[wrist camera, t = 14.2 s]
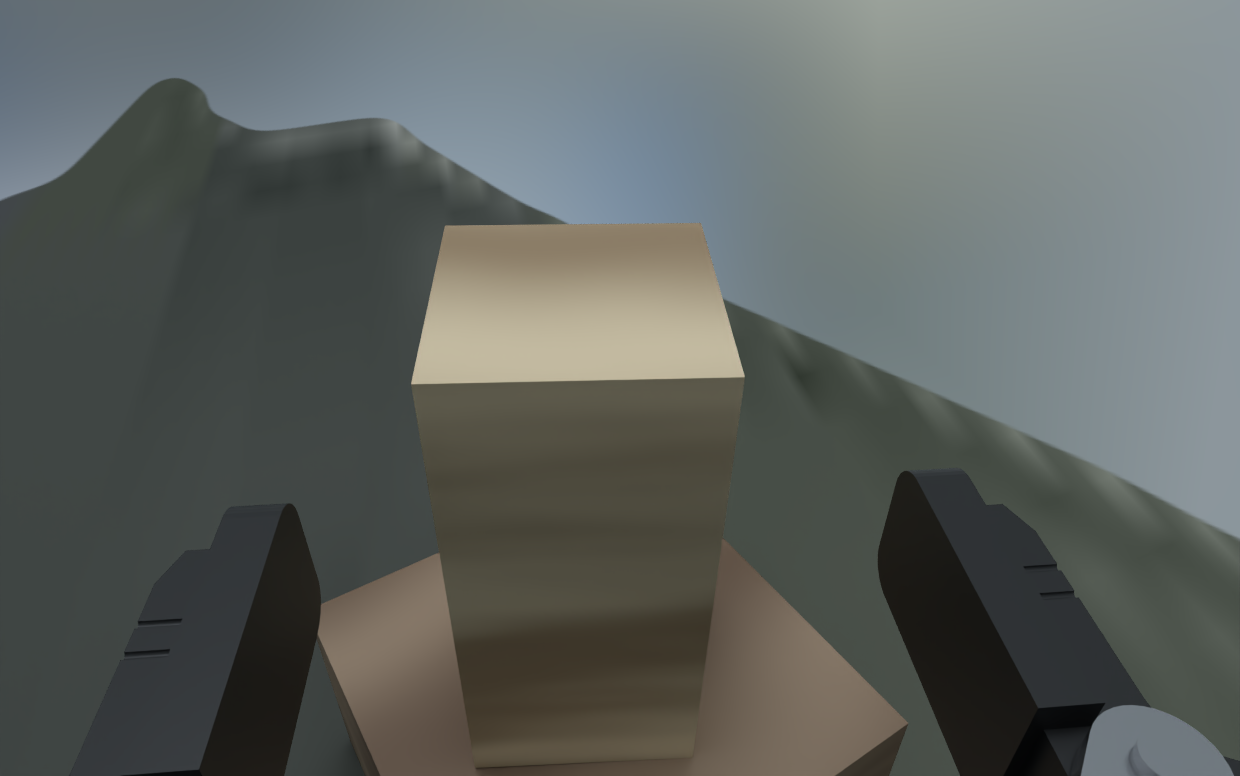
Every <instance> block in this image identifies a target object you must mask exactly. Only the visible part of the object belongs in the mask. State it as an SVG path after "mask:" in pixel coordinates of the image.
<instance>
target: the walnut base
mask: <svg viewBox="0 0 1240 776" xmlns="http://www.w3.org/2000/svg"><path fill="white" fill-rule="evenodd" d="M317 641H318V644H319V647H320V650H321V653H322V656H323V659H324V662H325V665H326V668H327V671H328V675H329V678H330V681H331V684H332V687H333V690H334V693H335V696H336V699H337V702H338V705H339V708H340V711H341V714H342V717H343V720H344V723H345V726H346V729H347V732H348V735H349V738H350V741H351V743H352V745H353V748H354V750H355V752H356V755H357V757H358V759H359V762H360V764H361V766H362V769H363V771H364V773H365V776H889V774H890V771H891V769H892V766H893V763H894V761H895V758H896V755H897V752H898V750H899V747H900V744H901V742H902V739H903V736H904V734H905V731H906V728H907V726H908V722H907V721H906V720H905V719H904V718H903V717H902V716H901V715H900V714H899V713H898V712H897V711H896V710H895V709H894V708H893V707H892V706H891V705H890V704H889V703H888V702H887V701H886V700H885V699H884V698H883V697H882V696H881V695H880V694H879V693H878V692H877V691H876V690H875V689H874V688H873V687H872V686H871V685H870V684H869V683H868V682H867V681H866V680H865V679H864V678H863V677H862V676H861V675H860V674H859V673H858V672H857V671H856V670H855V669H854V668H853V667H852V666H851V665H850V664H849V663H848V662H847V661H846V660H845V659H844V658H843V657H842V656H841V655H840V654H839V653H838V652H837V651H836V650H835V649H834V648H833V647H832V646H831V645H830V644H829V643H828V642H827V641H826V640H825V639H824V638H823V637H822V636H821V635H820V634H819V633H818V632H817V631H816V630H815V629H814V628H813V627H812V626H811V625H810V624H809V623H808V622H807V621H806V620H805V619H804V618H803V617H802V616H801V615H800V614H799V613H798V612H797V611H796V610H795V609H794V608H793V607H792V606H791V605H790V604H789V603H788V602H787V601H786V600H785V599H784V598H783V597H782V596H781V595H780V594H779V593H778V592H777V591H776V590H775V589H774V588H773V587H772V586H771V585H770V584H769V583H768V582H767V581H766V580H765V579H764V578H763V577H762V576H761V575H760V574H759V573H758V572H757V571H756V570H755V569H754V568H753V567H752V566H751V565H750V564H749V563H748V562H747V561H746V560H745V559H744V558H743V557H742V556H741V555H740V554H739V553H738V552H737V551H736V550H735V549H734V548H733V547H732V546H731V545H730V544H729V543H728V542H727V541H726V540H725V539H724V538H723V539H722V547H721V554H720V561H719V568H718V576H717V583H716V590H715V597H714V605H713V612H712V619H711V627H710V634H709V641H708V648H707V656H706V663H705V670H704V677H703V685H702V692H701V699H700V706H699V714H698V721H697V728H696V735H695V743H694V750H693V757H692V758H675V759H654V760H633V761H611V762H590V763H569V764H548V765H527V766H505V767H484V768H475V765H474V759H473V753H472V747H471V741H470V735H469V729H468V723H467V717H466V711H465V705H464V699H463V693H462V687H461V681H460V675H459V669H458V663H457V657H456V651H455V645H454V639H453V633H452V627H451V621H450V615H449V609H448V603H447V597H446V591H445V585H444V579H443V573H442V567H441V561H440V554H439V553H437V554H435V555H433V556H430V557H428V558H426V559H424V560H421V561H419V562H417V563H414V564H412V565H410V566H408V567H405V568H403V569H401V570H398V571H396V572H394V573H392V574H389V575H387V576H385V577H382V578H380V579H378V580H376V581H373V582H371V583H369V584H366V585H364V586H362V587H360V588H357V589H355V590H353V591H350V592H348V593H346V594H344V595H341V596H339V597H337V598H334V599H332V600H330V601H328V602H325V603H323V604H321V614H320V623H319V629H318V634H317Z"/></svg>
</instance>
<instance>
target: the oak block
mask: <svg viewBox="0 0 1240 776" xmlns="http://www.w3.org/2000/svg"><path fill="white" fill-rule="evenodd" d="M744 379H745V376H744V373H743V369H742V366H741V362H740V359H739V355H738V352H737V348H736V345H735V341H734V337H733V334H732V330H731V327H730V323H729V320H728V316H727V313H726V309H725V306H724V302H723V299H722V296H721V292H720V289H719V285H718V281H717V278H716V274H715V271H714V268H713V264H712V260H711V257H710V253H709V250H708V246H707V243H706V240H705V236H704V232H703V229H702V226H701V223H670V224H669V223H666V224H578V225H577V224H567V225H470V226H445V228H444V233H443V238H442V242H441V247H440V252H439V256H438V261H437V266H436V270H435V275H434V280H433V285H432V289H431V294H430V299H429V303H428V308H427V313H426V317H425V322H424V327H423V331H422V336H421V341H420V345H419V350H418V355H417V359H416V364H415V369H414V373H413V378H412V383H411V386H412V392H413V398H414V404H415V410H416V416H417V422H418V428H419V434H420V440H421V446H422V452H423V458H424V464H425V470H426V476H427V482H428V488H429V494H430V500H431V506H432V512H433V518H434V524H435V530H436V536H437V542H438V548H439V554H440V561H441V567H442V573H443V579H444V585H445V591H446V597H447V603H448V609H449V615H450V621H451V627H452V633H453V639H454V645H455V651H456V657H457V663H458V669H459V675H460V681H461V687H462V693H463V699H464V705H465V711H466V717H467V723H468V729H469V735H470V741H471V747H472V753H473V759H474V765H475V768H484V767H505V766H527V765H548V764H569V763H590V762H611V761H633V760H654V759H675V758H692V757H693V750H694V743H695V735H696V728H697V721H698V714H699V706H700V699H701V692H702V685H703V677H704V670H705V663H706V656H707V648H708V641H709V634H710V627H711V619H712V612H713V605H714V597H715V590H716V583H717V576H718V568H719V561H720V554H721V547H722V539H723V532H724V525H725V518H726V510H727V503H728V496H729V488H730V481H731V474H732V467H733V459H734V452H735V445H736V438H737V430H738V423H739V416H740V409H741V401H742V394H743V387H744Z"/></svg>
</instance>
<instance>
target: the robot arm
mask: <svg viewBox="0 0 1240 776" xmlns="http://www.w3.org/2000/svg"><path fill="white" fill-rule="evenodd" d="M878 571H879V578H880V583H881V587H882V590H883V593H884V596H885V598H886V600H887V603H888V605H889V607H890V610H891V612H892V615H893V617H894V619H895V622H896V624H897V626H898V629H899V631H900V634H901V636H902V638H903V641H904V643H905V645H906V648H907V650H908V653H909V655H910V657H911V660H912V662H913V664H914V667H915V669H916V672H917V674H918V676H919V679H920V681H921V683H922V686H923V688H924V691H925V693H926V695H927V698H928V700H929V702H930V705H931V707H932V710H933V712H934V714H935V717H936V719H937V721H938V724H939V726H940V729H941V731H942V733H943V736H944V738H945V740H946V743H947V745H948V748H949V750H950V752H951V755H952V757H953V759H954V762H955V764H956V767H957V769H958V771H959V774H960V776H1240V761H1238V760H1234V759H1230V758H1227V757H1224V756H1222V755H1221V753H1220V752H1219V751H1218V750H1217V749H1216V747H1215V746H1214V745H1213V744H1212V743H1211V742H1210V741H1209V740H1207V739H1206V738H1205V737H1204V736H1203V735H1202V734H1201V733H1199V732H1198V731H1197V730H1195V729H1194V728H1193V727H1191V726H1190V725H1188V724H1187V723H1185V722H1183V721H1182V720H1180V719H1178V718H1176V717H1174V716H1172V715H1170V714H1168V713H1165V712H1162V711H1160V710H1157V709H1153V708H1151V707H1150V706H1149V704H1148V703H1147V701H1146V700H1145V699H1144V697H1143V696H1142V694H1141V693H1140V691H1139V690H1138V688H1137V687H1136V685H1135V684H1134V682H1133V681H1132V679H1131V677H1130V676H1129V674H1128V673H1127V671H1126V670H1125V668H1124V667H1123V665H1122V664H1121V662H1120V660H1119V659H1118V657H1117V656H1116V654H1115V653H1114V651H1113V650H1112V648H1111V647H1110V645H1109V644H1108V642H1107V640H1106V639H1105V637H1104V636H1103V634H1102V633H1101V631H1100V630H1099V628H1098V627H1097V625H1096V623H1095V622H1094V620H1093V619H1092V617H1091V616H1090V614H1089V613H1088V611H1087V610H1086V608H1085V606H1084V605H1083V603H1082V602H1081V600H1080V599H1079V598H1075V596H1074V590H1073V588H1072V586H1071V585H1070V583H1069V582H1068V580H1067V579H1066V577H1065V576H1064V574H1063V573H1062V571H1058V570H1057V563H1056V562H1055V560H1054V559H1053V557H1052V556H1051V554H1050V552H1049V551H1048V549H1047V548H1046V546H1045V545H1044V543H1043V542H1042V540H1041V539H1040V537H1039V536H1038V534H1037V532H1036V531H1035V530H1033V529H1032V528H1031V527H1030V526H1029V525H1027V524H1026V523H1025V522H1024V521H1022V520H1021V519H1020V518H1019V517H1018V516H1016V515H1015V514H1014V513H1013V512H1012V511H1010V510H1009V509H1008V508H1007V507H1005V506H1004V505H1003V504H997V505H986V504H985V503H984V501H983V499H982V498H981V496H980V494H979V493H978V491H977V489H976V488H975V486H974V484H973V483H972V481H971V479H970V478H969V476H968V475H967V474H966V473H965V472H964V471H963V470H962V469H959V468H949V469H931V470H913V471H904V472H902V473H901V474H900V475H899V477H898V479H897V482H896V486H895V489H894V493H893V497H892V500H891V504H890V508H889V512H888V515H887V519H886V523H885V526H884V530H883V534H882V538H881V541H880V545H879V550H878ZM320 614H321V595H320V586H319V581H318V578H317V574H316V571H315V568H314V564H313V561H312V558H311V555H310V551H309V548H308V545H307V542H306V538H305V535H304V532H303V529H302V525H301V522H300V519H299V516H298V513H297V510H296V508H295V507H294V506H293V505H292V504H272V505H254V506H236V507H230V508H229V509H228V510H227V511H226V512H225V513H224V515H223V518H222V520H221V522H220V525H219V527H218V530H217V532H216V535H215V538H214V540H213V543H212V545H211V548H210V549H205V550H188V551H185V552H184V553H183V554H182V555H181V556H180V557H179V559H178V560H177V561H176V562H175V563H174V564H173V565H172V566H171V567H170V568H169V569H168V570H167V571H166V572H165V573H164V574H163V575H162V576H161V578H160V579H159V580H158V581H157V582H156V583H155V584H154V586H153V588H152V591H151V593H150V595H149V597H148V600H147V602H146V604H145V606H144V609H143V611H142V613H141V615H140V618H139V620H138V628H137V629H134V631H133V633H132V636H131V638H130V640H129V642H128V645H127V647H126V649H125V651H124V653H125V657H124V660H120V663H119V665H118V667H117V669H116V672H115V674H114V676H113V678H112V681H111V683H110V685H109V687H108V690H107V692H106V694H105V696H104V699H103V701H102V703H101V705H100V708H99V710H98V712H97V714H96V717H95V719H94V721H93V723H92V726H91V728H90V730H89V732H88V735H87V737H86V739H85V741H84V744H83V746H82V748H81V750H80V753H79V755H78V757H77V759H76V762H75V764H74V766H73V768H72V771H71V773H70V775H69V776H284V774H285V769H286V765H287V761H288V757H289V752H290V748H291V744H292V740H293V735H294V731H295V727H296V723H297V719H298V714H299V710H300V706H301V702H302V697H303V693H304V689H305V685H306V680H307V676H308V672H309V668H310V663H311V659H312V655H313V651H314V646H315V642H316V638H317V634H318V629H319V623H320Z"/></svg>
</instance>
